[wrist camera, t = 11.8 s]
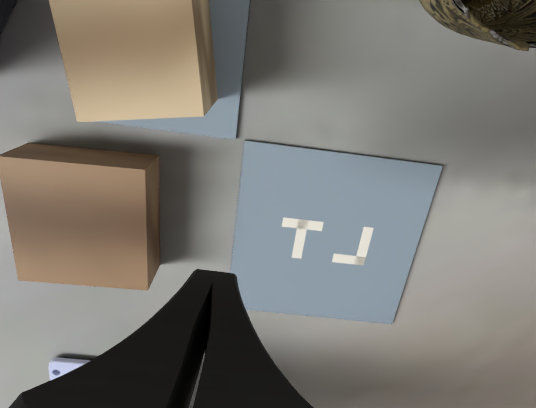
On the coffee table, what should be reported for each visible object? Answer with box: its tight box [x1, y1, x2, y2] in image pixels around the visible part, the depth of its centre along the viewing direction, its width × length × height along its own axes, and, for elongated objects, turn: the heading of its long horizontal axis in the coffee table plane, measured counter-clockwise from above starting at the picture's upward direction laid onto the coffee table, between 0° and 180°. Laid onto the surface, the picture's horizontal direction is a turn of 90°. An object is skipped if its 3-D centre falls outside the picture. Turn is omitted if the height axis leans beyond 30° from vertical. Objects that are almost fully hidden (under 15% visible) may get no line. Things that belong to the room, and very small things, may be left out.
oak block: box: [49, 0, 218, 122], centre depth 16 cm, size 5×5×5 cm
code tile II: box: [94, 0, 250, 140], centre depth 19 cm, size 8×8×1 cm
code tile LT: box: [230, 140, 443, 324], centre depth 23 cm, size 11×11×1 cm
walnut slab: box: [0, 143, 160, 290], centre depth 21 cm, size 7×7×3 cm
